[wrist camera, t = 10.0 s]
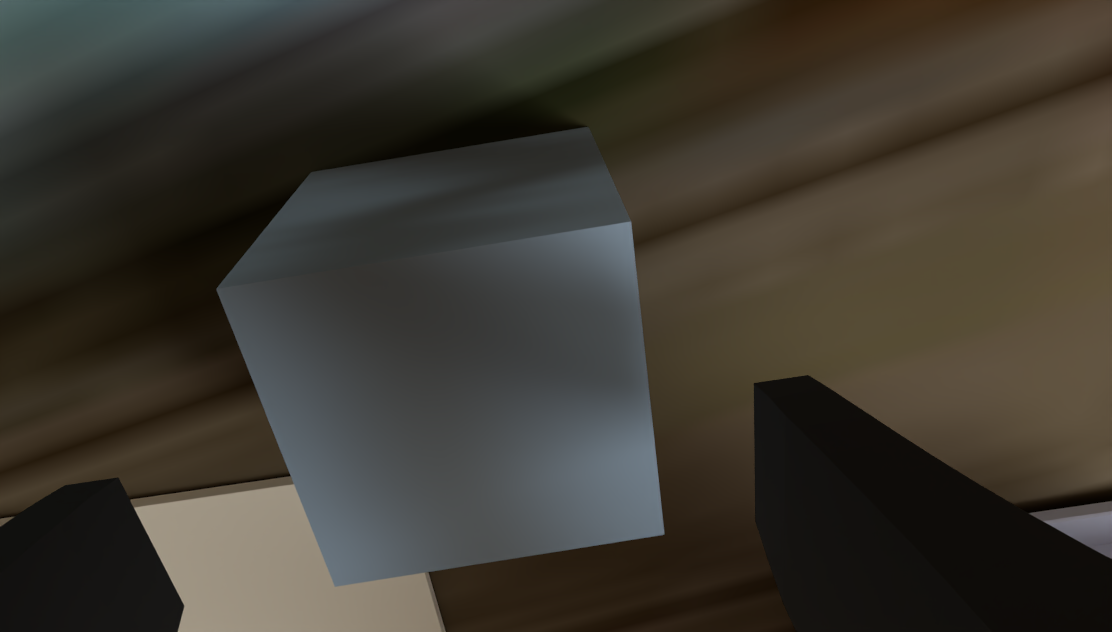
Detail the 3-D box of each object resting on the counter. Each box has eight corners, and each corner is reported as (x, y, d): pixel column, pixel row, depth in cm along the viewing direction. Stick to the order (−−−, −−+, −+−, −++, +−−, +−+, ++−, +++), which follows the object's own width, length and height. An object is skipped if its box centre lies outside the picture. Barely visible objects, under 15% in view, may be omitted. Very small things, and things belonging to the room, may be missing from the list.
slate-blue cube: (587, 125, 13) (631, 221, 9) (618, 363, 16) (664, 535, 11) (311, 171, 13) (217, 289, 9) (382, 401, 16) (334, 586, 11)
